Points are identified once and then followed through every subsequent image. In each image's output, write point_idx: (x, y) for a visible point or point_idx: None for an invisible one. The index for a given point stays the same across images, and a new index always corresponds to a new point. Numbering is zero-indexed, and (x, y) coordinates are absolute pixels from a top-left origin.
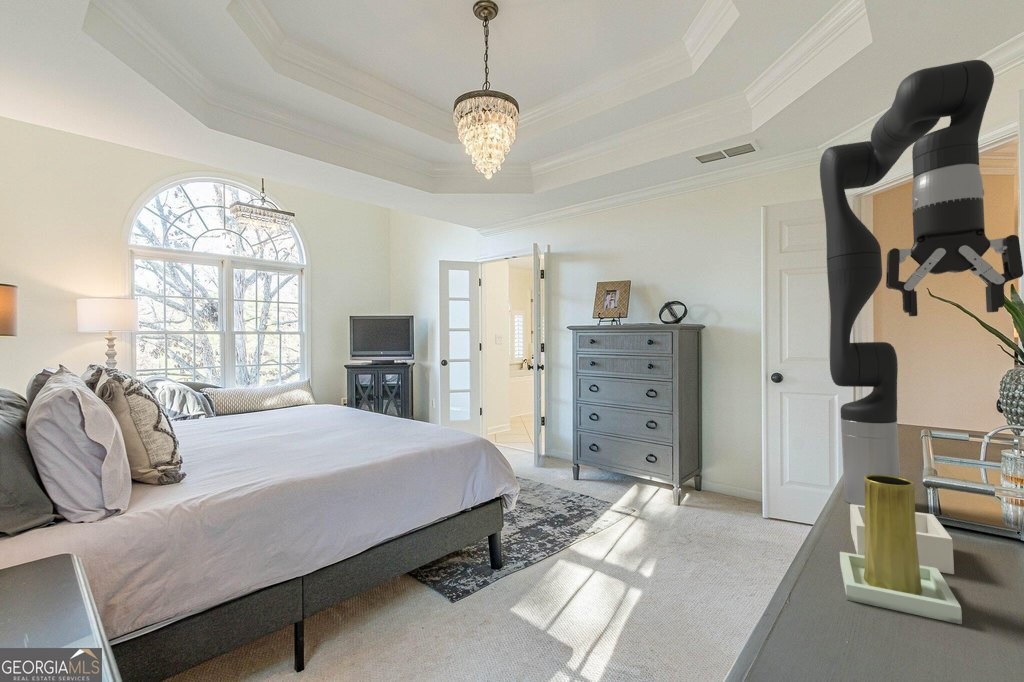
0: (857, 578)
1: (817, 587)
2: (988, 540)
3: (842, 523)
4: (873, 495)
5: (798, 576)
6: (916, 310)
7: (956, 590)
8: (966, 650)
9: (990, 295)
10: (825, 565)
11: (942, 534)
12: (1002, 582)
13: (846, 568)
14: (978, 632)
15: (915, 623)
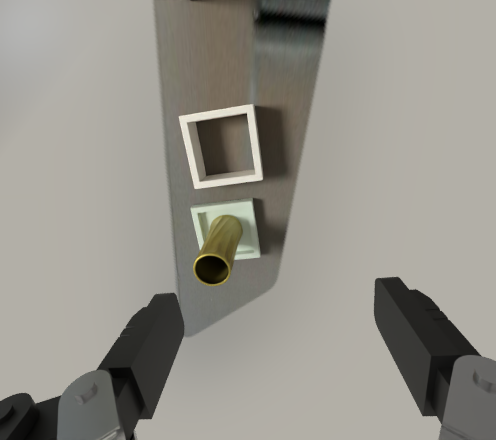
0: (207, 231)
1: (188, 250)
2: (301, 50)
3: (176, 88)
4: (204, 274)
5: (174, 241)
6: (177, 343)
7: (262, 203)
8: (259, 277)
9: (400, 365)
10: (185, 211)
11: (256, 171)
12: (292, 168)
13: (199, 238)
14: (267, 256)
15: (239, 264)
